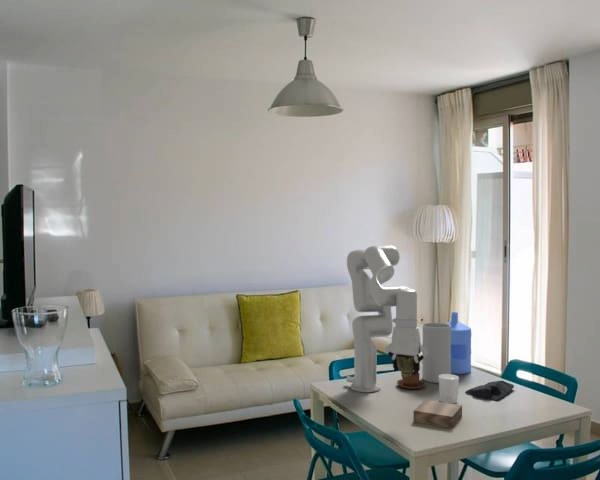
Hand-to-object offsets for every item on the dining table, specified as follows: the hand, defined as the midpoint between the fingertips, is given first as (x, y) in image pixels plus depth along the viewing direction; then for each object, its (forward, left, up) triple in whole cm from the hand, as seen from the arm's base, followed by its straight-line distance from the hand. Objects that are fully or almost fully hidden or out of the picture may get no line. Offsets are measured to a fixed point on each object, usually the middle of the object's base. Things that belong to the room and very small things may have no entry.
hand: (406, 371), depth 211 cm
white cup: (+8, +28, -18) cm, 34 cm away
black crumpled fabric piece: (+21, +48, -18) cm, 56 cm away
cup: (0, 0, -2) cm, 2 cm away
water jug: (-2, +76, -18) cm, 78 cm away
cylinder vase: (-5, +56, -18) cm, 59 cm away
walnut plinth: (+10, +6, -18) cm, 21 cm away
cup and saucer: (-11, +40, -18) cm, 45 cm away
